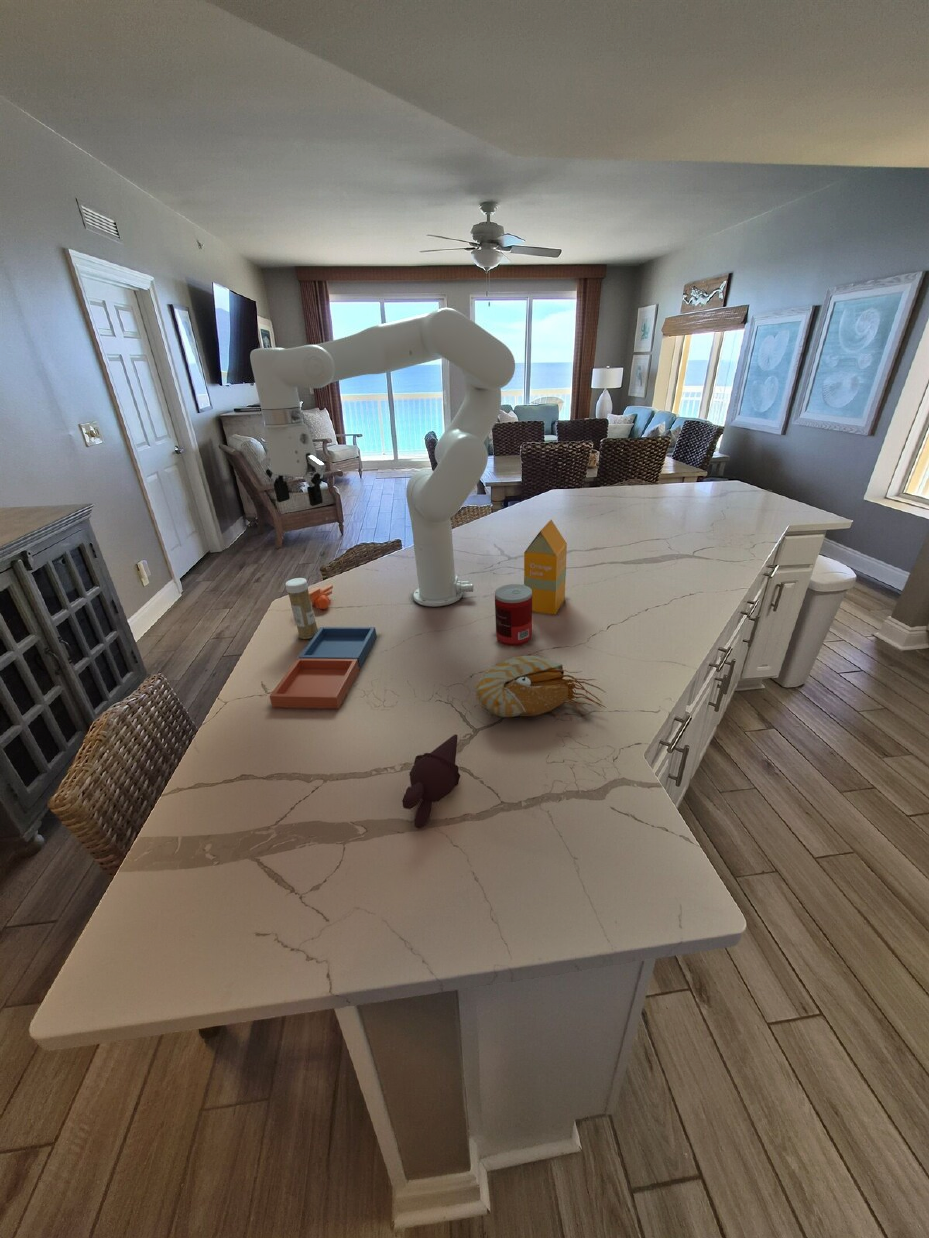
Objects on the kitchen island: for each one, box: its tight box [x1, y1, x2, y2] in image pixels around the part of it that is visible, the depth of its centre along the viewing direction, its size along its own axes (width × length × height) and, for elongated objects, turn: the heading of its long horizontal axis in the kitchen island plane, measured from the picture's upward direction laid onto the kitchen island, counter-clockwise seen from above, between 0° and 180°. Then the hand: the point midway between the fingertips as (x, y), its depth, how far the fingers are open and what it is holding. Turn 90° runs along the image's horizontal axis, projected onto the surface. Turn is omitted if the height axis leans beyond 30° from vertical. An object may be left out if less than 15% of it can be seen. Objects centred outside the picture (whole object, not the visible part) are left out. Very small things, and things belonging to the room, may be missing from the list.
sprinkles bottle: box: [285, 577, 319, 640], centre depth 110 cm, size 5×5×14 cm
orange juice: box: [523, 519, 568, 616], centre depth 115 cm, size 8×9×20 cm
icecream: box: [401, 733, 461, 830], centre depth 69 cm, size 7×7×15 cm
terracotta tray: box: [268, 657, 360, 710], centre depth 94 cm, size 13×13×2 cm
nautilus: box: [475, 655, 607, 718], centre depth 83 cm, size 8×22×15 cm
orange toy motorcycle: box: [308, 583, 334, 610], centre depth 125 cm, size 5×8×12 cm
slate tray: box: [298, 626, 378, 669], centre depth 106 cm, size 13×13×2 cm
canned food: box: [494, 583, 533, 647], centre depth 104 cm, size 8×8×11 cm
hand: (300, 502), depth 107 cm, fingers open, 9 cm apart
